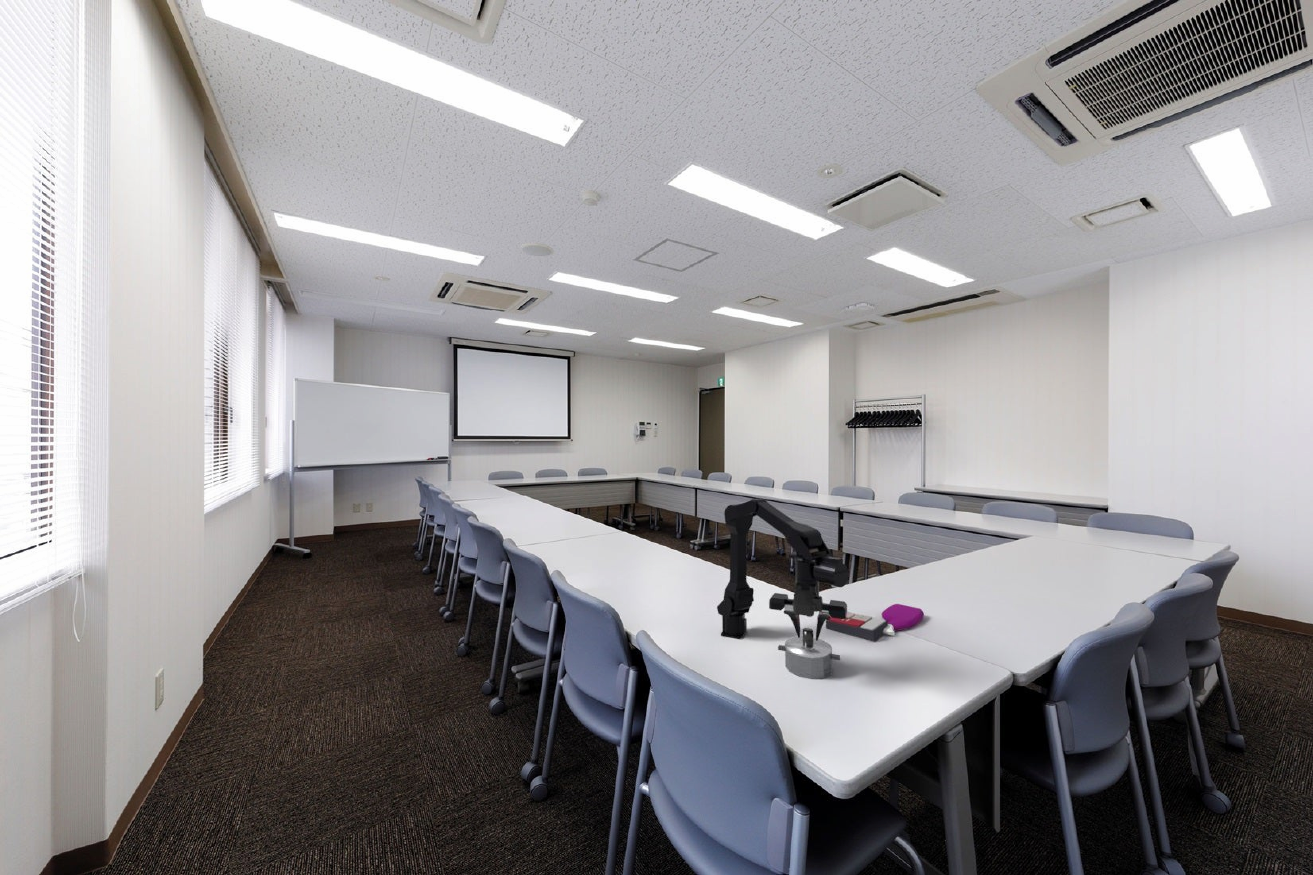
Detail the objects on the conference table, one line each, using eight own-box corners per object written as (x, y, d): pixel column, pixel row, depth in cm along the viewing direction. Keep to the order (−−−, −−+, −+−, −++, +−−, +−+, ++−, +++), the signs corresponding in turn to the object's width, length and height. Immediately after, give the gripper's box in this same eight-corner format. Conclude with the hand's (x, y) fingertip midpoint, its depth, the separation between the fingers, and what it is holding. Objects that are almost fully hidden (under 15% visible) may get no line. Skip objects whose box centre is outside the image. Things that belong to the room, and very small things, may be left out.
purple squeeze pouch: (927, 618, 158) (900, 641, 141) (892, 610, 166) (862, 631, 148) (926, 609, 158) (900, 631, 141) (892, 602, 166) (862, 622, 148)
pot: (774, 671, 122) (774, 651, 122) (782, 654, 132) (782, 635, 132) (838, 684, 115) (837, 663, 115) (842, 664, 125) (841, 645, 125)
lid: (781, 657, 121) (780, 634, 121) (789, 640, 131) (789, 619, 132) (829, 666, 116) (829, 642, 116) (834, 647, 126) (833, 625, 127)
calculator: (840, 609, 158) (888, 618, 147) (841, 622, 158) (889, 632, 147) (824, 618, 150) (873, 628, 140) (825, 632, 150) (874, 643, 139)
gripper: (763, 582, 121) (764, 644, 121) (843, 591, 113) (844, 658, 112) (773, 571, 131) (774, 628, 131) (846, 579, 123) (847, 640, 123)
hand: (808, 638), depth 124 cm, fingers open, 4 cm apart
